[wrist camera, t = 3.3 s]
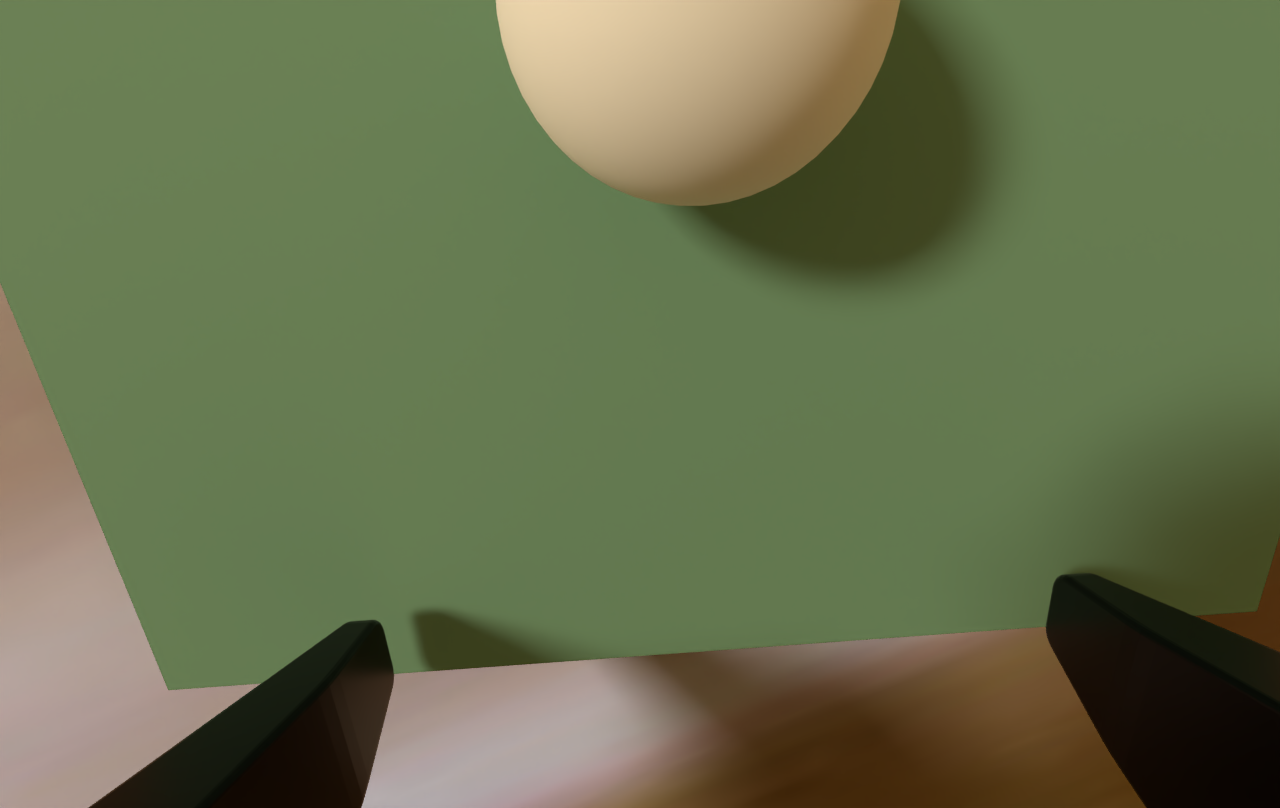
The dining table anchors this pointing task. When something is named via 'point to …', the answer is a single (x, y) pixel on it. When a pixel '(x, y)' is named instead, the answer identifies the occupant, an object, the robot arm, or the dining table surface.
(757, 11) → the ball
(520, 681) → the dining table surface
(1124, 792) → the dining table surface
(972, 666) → the dining table surface
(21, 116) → the putting mat
